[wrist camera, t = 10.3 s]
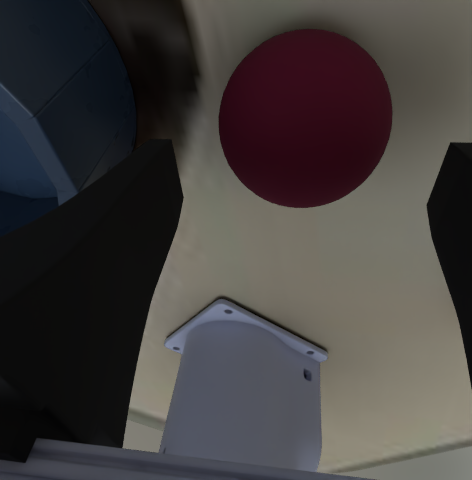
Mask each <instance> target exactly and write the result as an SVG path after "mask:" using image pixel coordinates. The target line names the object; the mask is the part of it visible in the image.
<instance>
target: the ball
mask: <svg viewBox="0 0 472 480" xmlns="http://www.w3.org/2000/svg"><path fill="white" fill-rule="evenodd" d="M391 126H392V102H391V96H390V92H389V88H388V84H387V82H386V80H385V77H384V75H383V73H382V71H381V69H380V68H379V66H378V65H377V63H376V62H375V60H374V59H373V58H372V57H371V56H370V55H369V54H368V53H367V52H366V51H365V50H364V49H363V48H361V47H360V46H359V45H358V44H356V43H355V42H354V41H352V40H350V39H348V38H347V37H345V36H342V35H340V34H337V33H334V32H330V31H326V30H319V29H301V30H294V31H289V32H285V33H283V34H280V35H277V36H274V37H272V38H271V39H269V40H267V41H265V42H263V43H262V44H260V45H259V46H258V47H256V48H255V49H254V50H253V51H252V52H250V53H249V54H248V55H247V56H246V57H245V58H244V59H243V60H242V62H241V63H240V64H239V65H238V66H237V68H236V69H235V71H234V72H233V74H232V76H231V77H230V79H229V81H228V84H227V86H226V88H225V90H224V93H223V97H222V100H221V105H220V112H219V135H220V141H221V145H222V149H223V152H224V155H225V157H226V160H227V162H228V164H229V166H230V167H231V169H232V170H233V172H234V173H235V175H236V176H237V177H238V179H239V180H240V181H241V182H242V183H243V184H244V185H245V186H246V187H247V188H248V189H249V190H251V191H252V192H253V193H255V194H256V195H258V196H259V197H261V198H263V199H265V200H267V201H269V202H271V203H274V204H278V205H281V206H286V207H294V208H308V207H316V206H321V205H325V204H328V203H331V202H334V201H336V200H339V199H340V198H342V197H344V196H346V195H347V194H349V193H350V192H352V191H353V190H355V189H356V188H357V187H358V186H360V185H361V184H362V183H363V182H364V181H365V180H366V179H367V178H368V177H369V176H370V174H371V173H372V172H373V170H374V169H375V167H376V166H377V165H378V163H379V161H380V160H381V158H382V156H383V154H384V151H385V149H386V146H387V143H388V140H389V137H390V132H391Z"/></svg>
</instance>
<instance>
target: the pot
mask: <svg viewBox="0 0 472 480" xmlns="http://www.w3.org/2000/svg"><path fill="white" fill-rule="evenodd" d="M136 129H137V124H136V107H135V101H134V96H133V90H132V87H131V84H130V80H129V77H128V74H127V70H126V68H125V66H124V63H123V61H122V59H121V56H120V54H119V51H118V49H117V47H116V45H115V43H114V42H113V40H112V38H111V36H110V34H109V33H108V31H107V29H106V27H105V25H104V24H103V22H102V21H101V20H100V18H99V17H98V15H97V14H96V12H95V11H94V9H93V8H92V6H91V5H90V4H89V2H88V1H87V0H0V237H1V236H4V235H6V234H8V233H10V232H12V231H14V230H16V229H18V228H20V227H22V226H24V225H26V224H28V223H30V222H32V221H34V220H35V219H37V218H39V217H41V216H43V215H44V214H46V213H48V212H49V211H51V210H53V209H55V208H56V207H58V206H60V205H61V204H63V203H64V202H66V201H67V200H69V199H71V198H72V197H74V196H75V195H76V194H78V193H79V192H81V191H82V190H83V189H85V188H86V187H88V186H89V185H90V184H92V183H93V182H95V181H96V180H97V179H99V178H100V177H102V176H103V175H104V174H105V173H107V172H108V171H109V170H111V169H112V168H113V167H114V166H116V165H117V164H118V163H120V162H121V161H122V160H123V159H125V158H126V157H127V156H128V155H130V154H131V153H132V152H133V148H134V145H135V138H136Z"/></svg>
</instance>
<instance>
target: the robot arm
mask: <svg viewBox="0 0 472 480" xmlns="http://www.w3.org/2000/svg"><path fill="white" fill-rule="evenodd" d="M183 198H184V197H183V192H182V188H181V183H180V178H179V173H178V168H177V164H176V159H175V154H174V149H173V144H172V140H171V139H150V140H148V141H147V142H145V143H144V144H142V145H141V146H140V147H139V148H137V149H136V150H135V151H133V152H132V153H131V154H130V155H128V156H127V157H126V158H125V159H123V160H122V161H121V162H120V163H118V164H117V165H116V166H114V167H113V168H112V169H111V170H109V171H108V172H107V173H105V174H104V175H103V176H102V177H100V178H99V179H97V180H96V181H95V182H93V183H92V184H90V185H89V186H88V187H86V188H85V189H83V190H82V191H81V192H79V193H78V194H76V195H75V196H74V197H72V198H71V199H69V200H67V201H66V202H64V203H63V204H61V205H60V206H58V207H56V208H55V209H53V210H51V211H49V212H48V213H46V214H44V215H43V216H41V217H39V218H37V219H35V220H34V221H32V222H30V223H28V224H26V225H24V226H22V227H20V228H18V229H16V230H14V231H12V232H10V233H8V234H6V235H4V236H1V237H0V480H375V479H367V478H359V477H350V476H341V475H334V474H326V473H318V472H316V471H317V468H318V465H319V461H320V456H321V448H322V433H321V396H320V363H321V362H323V361H325V360H327V359H328V353H327V352H326V351H324V350H323V349H321V348H319V347H317V346H315V345H313V344H311V343H309V342H307V341H305V340H303V339H301V338H299V337H297V336H295V335H293V334H291V333H289V332H287V331H286V330H284V329H282V328H280V327H278V326H276V325H274V324H272V323H270V322H268V321H266V320H264V319H262V318H260V317H258V316H256V315H254V314H252V313H251V312H249V311H247V310H245V309H243V308H241V307H239V306H237V305H235V304H233V303H231V302H229V301H227V300H225V299H219V300H216V301H215V302H214V303H212V304H211V305H210V306H209V307H207V308H206V309H205V310H203V311H202V312H201V313H199V314H198V315H197V316H196V317H194V318H193V319H192V320H190V321H189V322H188V323H186V324H185V325H184V326H183V327H181V328H180V329H179V330H177V331H176V332H175V333H173V334H172V335H171V336H169V337H168V338H167V339H166V340H165V342H164V346H165V347H167V348H168V349H171V350H173V351H175V352H178V353H180V354H182V357H181V361H180V366H179V370H178V374H177V378H176V382H175V386H174V391H173V395H172V399H171V403H170V407H169V411H168V415H167V420H166V424H165V428H164V432H163V436H162V440H161V445H160V449H159V453H155V452H146V451H139V450H131V449H123V448H122V447H123V440H124V434H125V427H126V421H127V415H128V409H129V403H130V397H131V392H132V387H133V381H134V376H135V371H136V366H137V361H138V356H139V351H140V347H141V342H142V338H143V333H144V329H145V325H146V320H147V316H148V312H149V308H150V304H151V301H152V297H153V294H154V291H155V288H156V285H157V282H158V280H159V277H160V274H161V271H162V269H163V266H164V263H165V261H166V258H167V255H168V252H169V250H170V247H171V244H172V241H173V238H174V236H175V233H176V230H177V227H178V222H179V218H180V213H181V208H182V203H183ZM427 211H428V218H429V225H430V231H431V236H432V240H433V243H434V246H435V249H436V253H437V256H438V259H439V262H440V265H441V268H442V271H443V274H444V277H445V280H446V283H447V286H448V289H449V292H450V295H451V298H452V301H453V304H454V306H455V310H456V313H457V317H458V320H459V324H460V329H461V334H462V339H463V344H464V349H465V353H466V358H467V364H468V370H469V376H470V382H471V387H472V143H454V142H450V145H449V147H448V150H447V153H446V155H445V158H444V161H443V163H442V166H441V168H440V171H439V174H438V176H437V179H436V182H435V184H434V187H433V190H432V192H431V195H430V198H429V200H428V203H427Z"/></svg>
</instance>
